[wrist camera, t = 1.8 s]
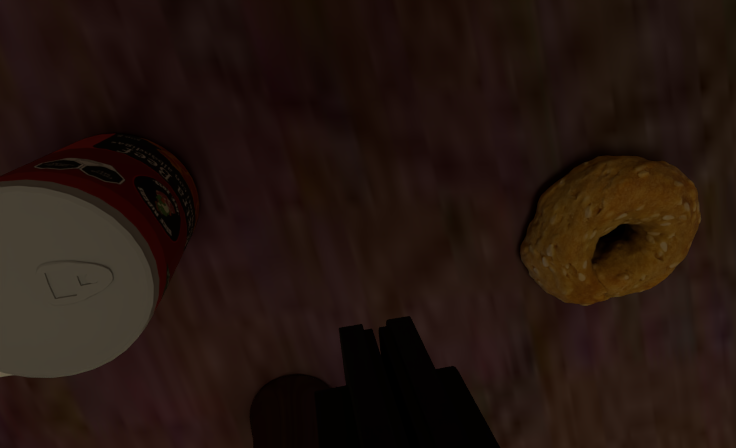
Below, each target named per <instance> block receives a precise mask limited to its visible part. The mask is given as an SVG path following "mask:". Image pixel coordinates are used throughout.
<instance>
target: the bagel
mask: <svg viewBox="0 0 736 448" xmlns="http://www.w3.org/2000/svg"><path fill="white" fill-rule="evenodd" d="M700 221H701V216H700V211H699V203H698V192H697V189H696V188H695V186H694V183H693V182H692V181H691V180H690V179H688V178H687V177H686V175H685V174H683V173H682V172H681V171H680V170H679V169H678V168H677V167H675V166H673V165H671V164H668V163H667V162H665V161H650V160H646V159H644V158H641V157H639V156H599V157H597V158H595V159H593V160H590V161H588V162H584V163H582V164H580V165H579V166H577V167H575V168H574V169H572V170H571V171H570V172H569V173H568V174H567V175H566V176H564V177H563V178H561V179H560V180H558V181H557V182H556V183H554V184H553V185H552V186H551V187H549V188H548V189H547V190H546V191H545V192H544V193H543V194H542V195H541V197H540V198H539V200H538V203H537V210H536V214H535V217H534V219H533V220H532V221H531V222H530V223H529V225H528V228H527V233H526V236H525V238H524V240H523V242H522V244H521V246H520V254H521V260H522V262H523V263H524V265H525V266H526V267H527V269H528V271H529V275H530V276H531V277H532V278H533V279H534V280H535V281H536V283H537V284H539V285H540V286H541V288H542V289H543V290H544V291H546V292H547V293H549V294H551V295H553V296H555V297H557V298H559V299H560V300H562V301H563V302H566V303H575V304H580V305H583V306H588V305H591V304H594V303H596V302H599V301H605V300H607V299H609V298H611V297H619V296H623V295H627V294H630V293H634V292H642V291H644V290H648V289H650V288H652V287H654V286H656V285H657V284H659V283H660V282H661V281H662V280H664V279H665V278H667V276H668V275H669V274H670V273H671V272H672V271H673V270H674V268H675V267H676V266H677V265H678V264H679V263H680V262H681V261H682V260H683V259H684V258H685V257H686V255H687V253H688V251H689V248H690V246H691V243H692V240H693V238H694V236H695V233H696V232H697V229H698V226H699V223H700ZM620 224H626V226H625V231H624V233H621V234H619V235H618V236H615V237H609V238H604V239H602V240H600V241H598V240H599V238H600V237H602V236H604V235H606V234H607V233H609V232H611V231H612V230H613V229H615V228H616V227H617V226H618V225H620Z"/></svg>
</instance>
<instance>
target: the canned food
mask: <svg viewBox="0 0 736 448" xmlns="http://www.w3.org/2000/svg"><path fill="white" fill-rule="evenodd" d="M198 216H199V199H198V193H197V189H196V186H195V184H194V181H193V179H192V177H191V176H190V174H189V172H188V171H187V169H186V168H185V166H184V165H183V164H182V163H181V162H180V161H179V160H178V159H177V158H176V157H175V156H174V155H173V154H172V153H170V152H169V151H167V150H166V149H165V148H163V147H162V146H159V145H157V144H155V143H153V142H151V141H149V140H147V139H143V138H140V137H136V136H133V135H126V134H117V133H114V134H100V135H96V136H92V137H88V138H84V139H82V140H80V141H77V142H75V143H73V144H71V145H69V146H66V147H64V148H62V149H60V150H57V151H55V152H53V153H51V154H49V155H46V156H44V157H42V158H40V159H37V160H35V161H33V162H31V163H29V164H26V165H24V166H22V167H20V168H17V169H15V170H13V171H11V172H9V173H6V174H4V175H2V176H0V372H3V373H6V374H12V375H18V376H24V377H42V378H53V377H61V376H69V375H75V374H78V373H82V372H85V371H89V370H92V369H95V368H97V367H99V366H101V365H103V364H105V363H107V362H110V361H112V360H113V359H114V358H116V357H117V356H119V355H120V354H121V353H123V352H124V351H125V350H127V349H128V348H129V347H130V346H131V345H132V343H133V342H134V341H135V340H136V339H137V338H138V337H139V336H140V334H141V332H142V331H143V330H144V329H145V328H146V326H147V324H148V323H149V321H150V319H151V317H152V316H153V314H154V312H155V310H156V308H157V306H158V304H159V302H160V301H161V299H162V297H163V295H164V292H165V290H166V288H167V286H168V284H169V282H170V280H171V278H172V276H173V273H174V271H175V269H176V267H177V265H178V263H179V261H180V259H181V257H182V254H183V252H184V250H185V248H186V246H187V244H188V242H189V240H190V238H191V235H192V233H193V231H194V229H195V226H196V223H197V220H198Z"/></svg>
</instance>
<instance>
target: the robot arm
mask: <svg viewBox="0 0 736 448" xmlns="http://www.w3.org/2000/svg"><path fill="white" fill-rule="evenodd" d="M339 334H340V342H341V349H342V357H343V365H344V373H345V381H346V386H341V387H336V388H330V389H325V390H319V391H314V395H315V406H316V417H317V427H318V438H319V448H500V447H499V445H498V443H497V441H496V439H495V437H494V436H493V434H492V432H491V430H490V428H489V426H488V425H487V423H486V421H485V419H484V417H483V415H482V414H481V412H480V410H479V408H478V406H477V404H476V403H475V401H474V399H473V397H472V395H471V394H470V392H469V390H468V388H467V386H466V384H465V383H464V381H463V379H462V377H461V375H460V373H459V372H458V370H457V369H456V367H454V366H451V367H445V368H440V369H435V367H434V365H433V363H432V361H431V359H430V357H429V355H428V353H427V351H426V348H425V346H424V344H423V342H422V340H421V338H420V336H419V334H418V332H417V330H416V328H415V325H414V323H413V321H412V319H411V317H410V316H407V317H401V318H395V319H389V320H387V321H386V326H385V327H379V340H380V351H381V355H380V352H379V349H378V346H377V342H376V339H375V336H374V333H373V330H372V329H368V330H364V329H363V326H362V324H360V325H354V326H348V327H342V328H339Z"/></svg>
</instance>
